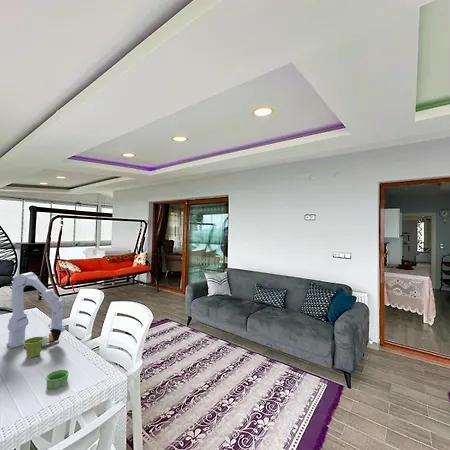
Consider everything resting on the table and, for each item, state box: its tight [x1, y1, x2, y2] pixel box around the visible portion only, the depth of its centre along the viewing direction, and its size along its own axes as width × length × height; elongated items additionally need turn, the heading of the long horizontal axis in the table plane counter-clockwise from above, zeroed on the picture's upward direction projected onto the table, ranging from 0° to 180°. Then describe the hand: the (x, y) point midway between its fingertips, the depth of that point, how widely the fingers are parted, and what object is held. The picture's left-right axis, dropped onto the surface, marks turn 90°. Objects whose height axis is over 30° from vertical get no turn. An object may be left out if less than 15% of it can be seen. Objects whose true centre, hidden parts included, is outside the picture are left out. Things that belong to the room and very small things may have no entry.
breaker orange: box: [48, 332, 53, 341], centre depth 166 cm, size 3×3×4 cm
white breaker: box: [42, 335, 49, 345], centre depth 160 cm, size 3×3×4 cm
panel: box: [23, 337, 60, 350], centre depth 162 cm, size 10×15×2 cm, turn 146°
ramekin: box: [45, 369, 70, 390], centre depth 122 cm, size 9×9×4 cm
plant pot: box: [24, 336, 44, 358], centre depth 149 cm, size 9×9×9 cm
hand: (56, 340), depth 162 cm, fingers closed
